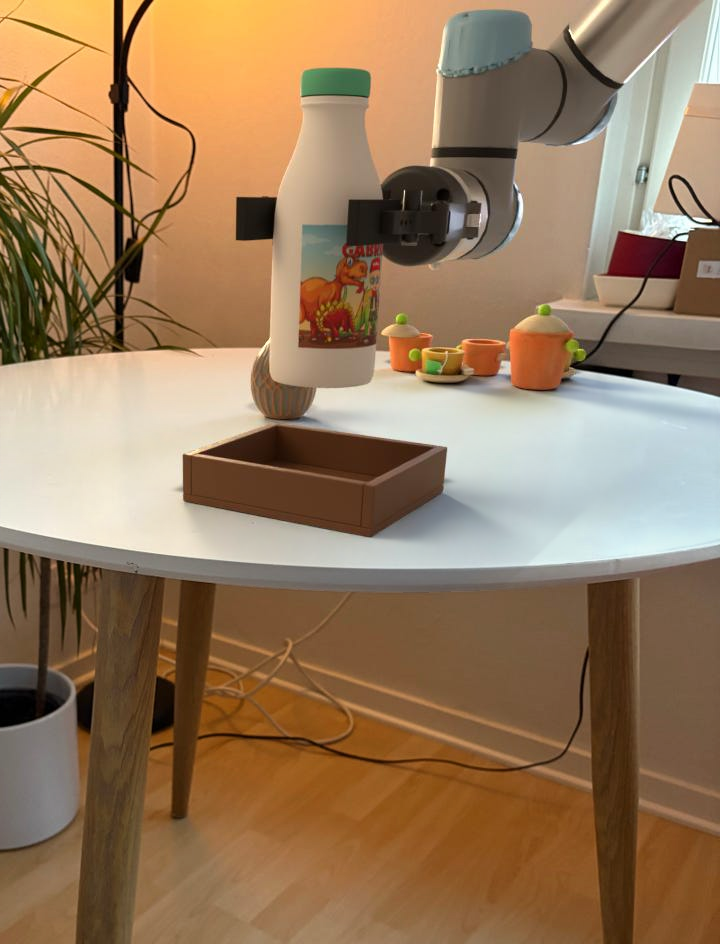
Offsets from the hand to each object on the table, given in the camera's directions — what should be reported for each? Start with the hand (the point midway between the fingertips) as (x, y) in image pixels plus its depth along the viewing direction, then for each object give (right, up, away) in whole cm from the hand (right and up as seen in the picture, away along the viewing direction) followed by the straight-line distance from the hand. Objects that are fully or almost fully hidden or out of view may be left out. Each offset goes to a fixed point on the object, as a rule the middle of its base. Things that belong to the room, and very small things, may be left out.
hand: (295, 220), depth 64 cm
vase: (+1, -4, +39) cm, 40 cm away
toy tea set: (+27, +6, +62) cm, 68 cm away
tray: (+2, -16, +12) cm, 20 cm away
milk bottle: (+2, -9, +8) cm, 12 cm away
